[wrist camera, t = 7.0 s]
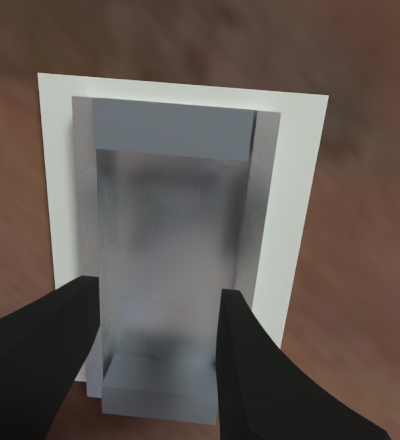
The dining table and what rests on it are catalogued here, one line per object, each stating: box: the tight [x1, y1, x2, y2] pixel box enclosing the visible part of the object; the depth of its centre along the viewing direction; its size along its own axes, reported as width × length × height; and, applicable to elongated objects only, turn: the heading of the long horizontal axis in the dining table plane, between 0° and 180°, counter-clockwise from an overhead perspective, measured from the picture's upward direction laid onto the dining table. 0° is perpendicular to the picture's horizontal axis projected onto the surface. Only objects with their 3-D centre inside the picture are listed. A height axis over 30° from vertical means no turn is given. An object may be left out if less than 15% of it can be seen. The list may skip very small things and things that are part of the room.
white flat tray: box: [38, 73, 329, 425], centre depth 14 cm, size 15×11×3 cm
